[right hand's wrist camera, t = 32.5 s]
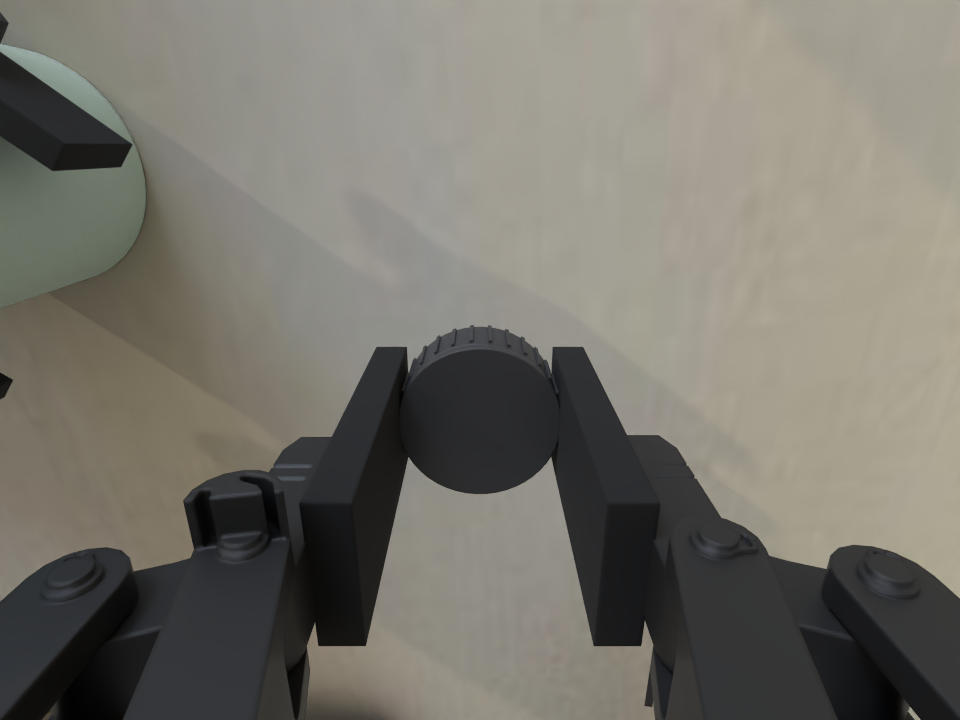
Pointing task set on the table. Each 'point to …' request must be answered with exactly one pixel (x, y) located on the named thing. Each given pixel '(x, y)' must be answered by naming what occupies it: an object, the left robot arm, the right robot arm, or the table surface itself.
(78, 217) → the bottle
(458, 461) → the cap
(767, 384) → the table surface
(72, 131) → the left robot arm
